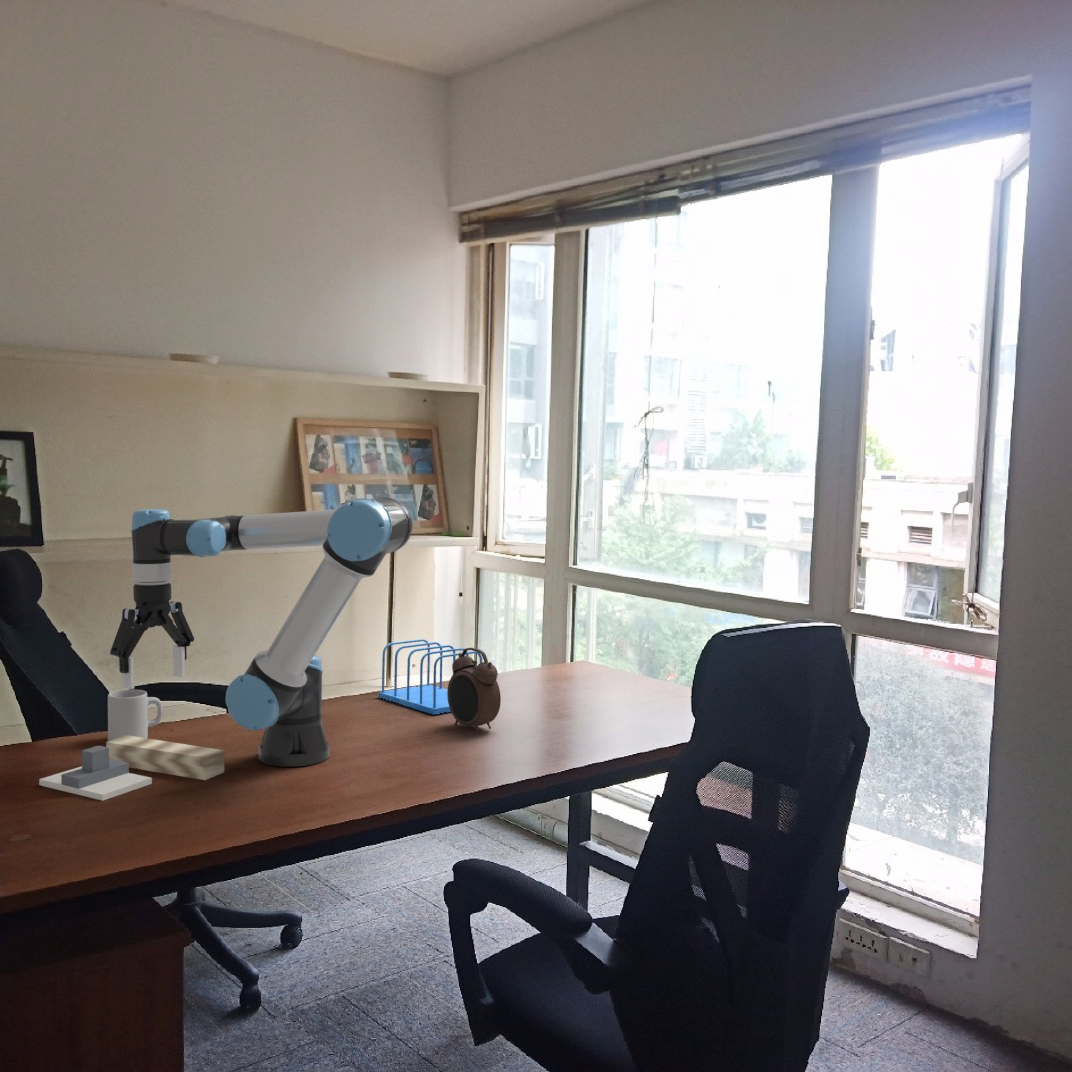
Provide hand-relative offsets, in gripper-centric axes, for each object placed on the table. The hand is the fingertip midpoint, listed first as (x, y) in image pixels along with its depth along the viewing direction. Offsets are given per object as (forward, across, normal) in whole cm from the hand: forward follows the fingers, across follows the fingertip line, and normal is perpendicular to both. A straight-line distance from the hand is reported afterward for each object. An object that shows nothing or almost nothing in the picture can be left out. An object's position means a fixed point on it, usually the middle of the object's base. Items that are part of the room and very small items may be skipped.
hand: (154, 682), depth 224 cm
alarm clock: (+19, -61, +41) cm, 76 cm away
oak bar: (+18, +1, +4) cm, 19 cm away
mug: (+18, -10, -19) cm, 28 cm away
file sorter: (+19, -78, +17) cm, 82 cm away
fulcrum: (+18, +16, +1) cm, 24 cm away
